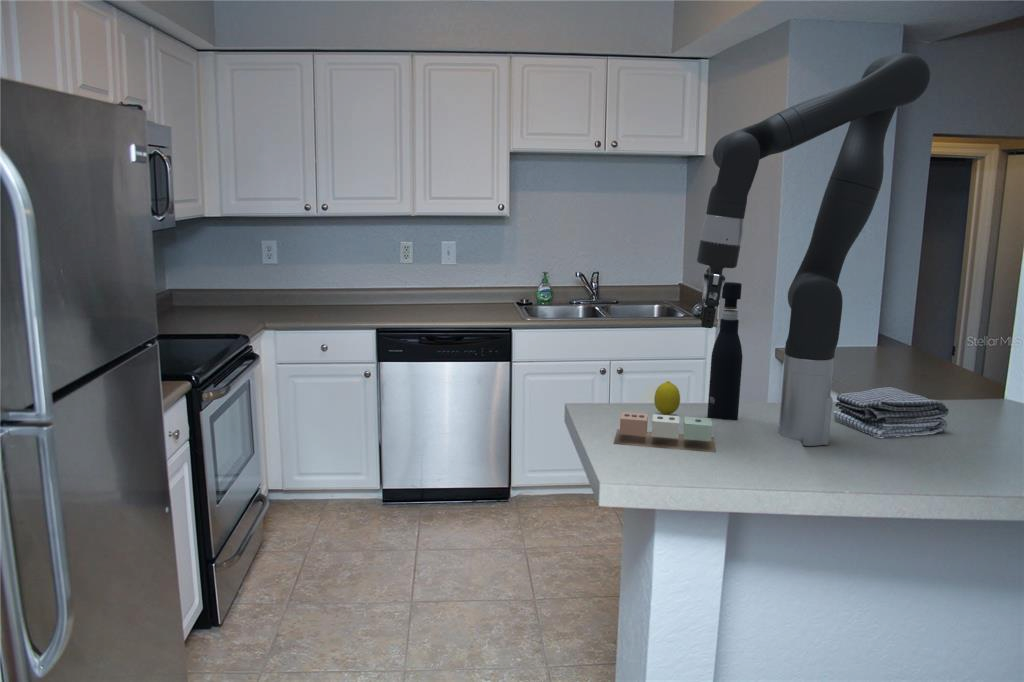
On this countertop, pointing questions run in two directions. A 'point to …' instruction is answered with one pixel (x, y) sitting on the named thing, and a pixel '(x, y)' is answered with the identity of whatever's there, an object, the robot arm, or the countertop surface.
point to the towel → (890, 412)
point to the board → (665, 442)
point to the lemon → (667, 398)
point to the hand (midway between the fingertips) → (705, 324)
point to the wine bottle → (726, 360)
